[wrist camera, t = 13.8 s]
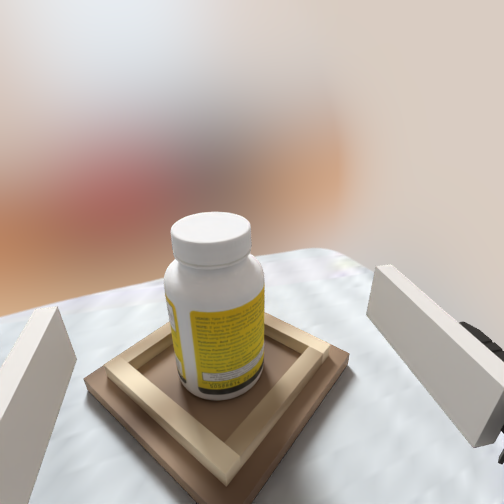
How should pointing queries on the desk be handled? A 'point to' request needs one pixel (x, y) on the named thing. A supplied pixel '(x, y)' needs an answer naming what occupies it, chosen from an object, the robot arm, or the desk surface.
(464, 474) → the desk surface
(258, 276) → the supplement bottle
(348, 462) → the desk surface
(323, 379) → the walnut board
